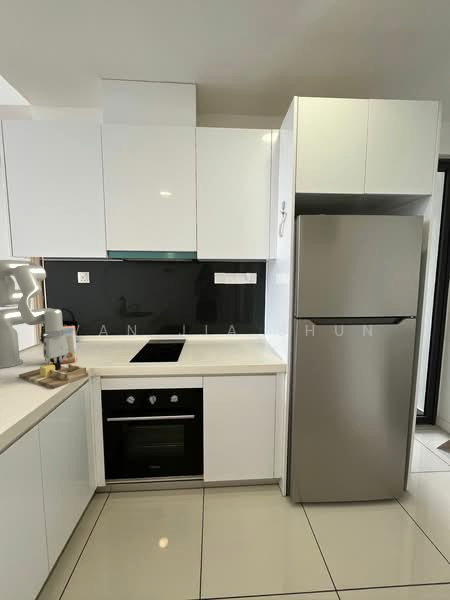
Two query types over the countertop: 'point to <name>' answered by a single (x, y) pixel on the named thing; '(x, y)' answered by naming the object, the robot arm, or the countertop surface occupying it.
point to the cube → (46, 370)
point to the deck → (49, 378)
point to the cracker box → (69, 345)
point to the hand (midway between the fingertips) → (57, 369)
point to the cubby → (67, 376)
